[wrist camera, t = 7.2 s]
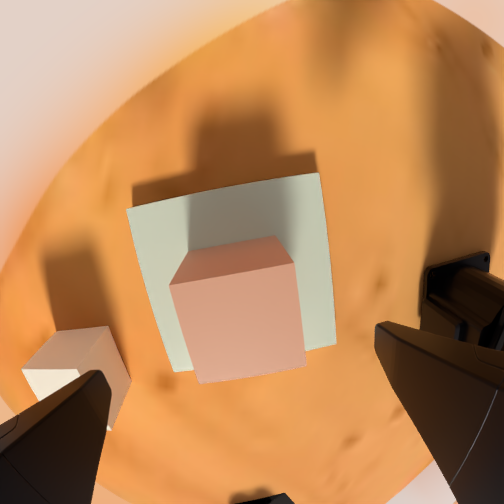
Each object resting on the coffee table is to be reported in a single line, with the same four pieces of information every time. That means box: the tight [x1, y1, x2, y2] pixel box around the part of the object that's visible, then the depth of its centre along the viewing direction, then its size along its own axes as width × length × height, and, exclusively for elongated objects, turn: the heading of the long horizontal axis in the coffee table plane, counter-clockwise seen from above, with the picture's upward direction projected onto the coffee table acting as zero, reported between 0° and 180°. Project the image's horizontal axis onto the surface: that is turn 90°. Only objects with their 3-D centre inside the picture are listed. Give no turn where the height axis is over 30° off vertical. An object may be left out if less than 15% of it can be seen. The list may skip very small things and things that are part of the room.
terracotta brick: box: [169, 235, 307, 384], centre depth 14 cm, size 4×4×5 cm
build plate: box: [126, 173, 336, 372], centre depth 16 cm, size 10×10×1 cm
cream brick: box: [21, 326, 132, 430], centre depth 15 cm, size 4×4×5 cm
